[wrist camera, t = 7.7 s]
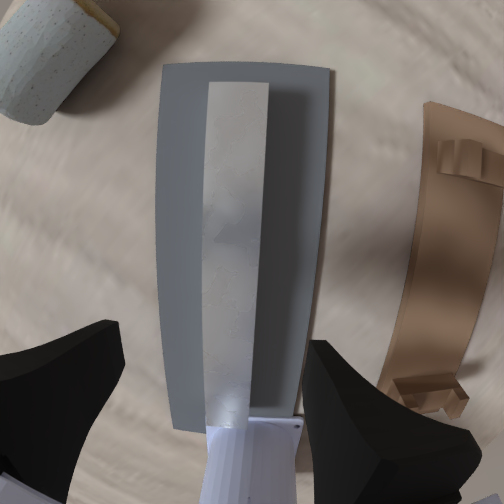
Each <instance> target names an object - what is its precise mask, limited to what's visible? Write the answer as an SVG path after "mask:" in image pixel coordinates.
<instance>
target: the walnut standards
mask: <svg viewBox="0 0 504 504" xmlns="http://www.w3.org/2000/svg"><path fill="white" fill-rule="evenodd" d="M503 189H504V126H501V125H499V124H496V123H494V122H491V121H489V120H486V119H483V118H481V117H478V116H475V115H472V114H469V113H467V112H464V111H461V110H458V109H454V108H451V107H448V106H445V105H442V104H438V103H435V102H431V101H430V102H427V103H424V126H423V153H422V169H421V181H420V191H419V201H418V209H417V217H416V224H415V231H414V238H413V244H412V250H411V256H410V261H409V267H408V272H407V277H406V282H405V286H404V291H403V295H402V300H401V304H400V308H399V312H398V316H397V320H396V324H395V328H394V332H393V335H392V339H391V342H390V346H389V349H388V353H387V356H386V359H385V362H384V366H383V369H382V372H381V375H380V378H379V381H378V384H377V387H376V388H377V389H378V390H380V391H381V392H383V393H384V394H385V395H387V396H388V397H390V398H391V399H393V400H395V401H396V402H398V403H400V404H401V405H403V406H405V407H407V408H409V409H411V410H413V411H415V412H417V413H419V414H425V413H431V412H437V411H439V409H440V408H444V410H445V412H446V413H447V415H448V417H449V419H454V418H458V417H460V415H461V413H462V412H463V410H464V408H465V406H466V404H467V402H468V400H469V399H470V398H469V397H468V395H467V394H466V393H465V391H464V390H463V388H462V387H461V386H460V384H459V383H458V381H457V380H456V379H455V375H456V372H457V370H458V368H459V365H460V363H461V360H462V358H463V355H464V353H465V350H466V348H467V345H468V342H469V340H470V337H471V334H472V331H473V328H474V325H475V322H476V319H477V316H478V313H479V310H480V306H481V303H482V300H483V296H484V292H485V289H486V285H487V281H488V277H489V273H490V269H491V264H492V260H493V255H494V250H495V245H496V240H497V234H498V228H499V222H500V215H501V207H502V199H503Z"/></svg>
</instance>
